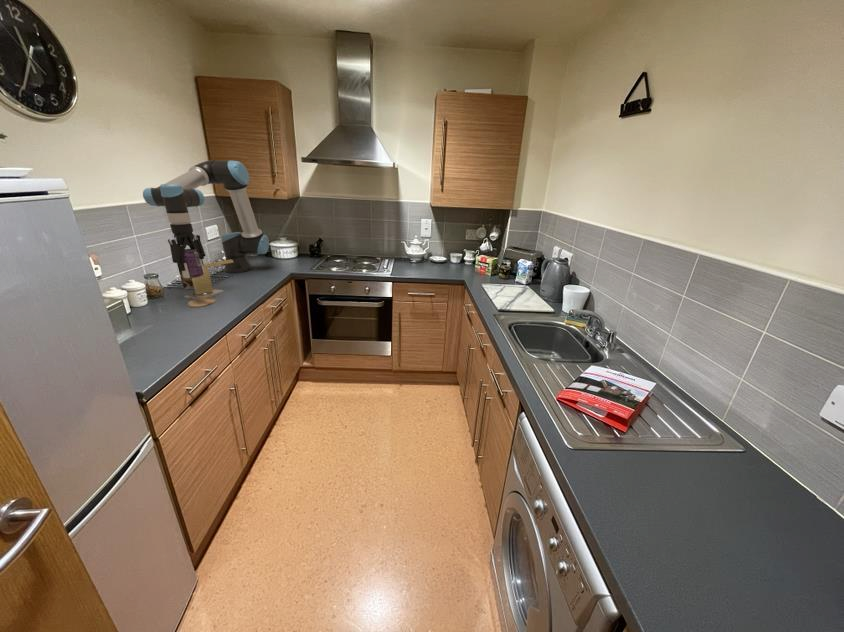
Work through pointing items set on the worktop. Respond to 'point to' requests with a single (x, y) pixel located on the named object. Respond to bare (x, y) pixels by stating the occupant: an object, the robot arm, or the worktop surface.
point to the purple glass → (193, 263)
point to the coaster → (201, 302)
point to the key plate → (205, 294)
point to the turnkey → (206, 278)
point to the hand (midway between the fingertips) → (194, 275)
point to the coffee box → (186, 281)
